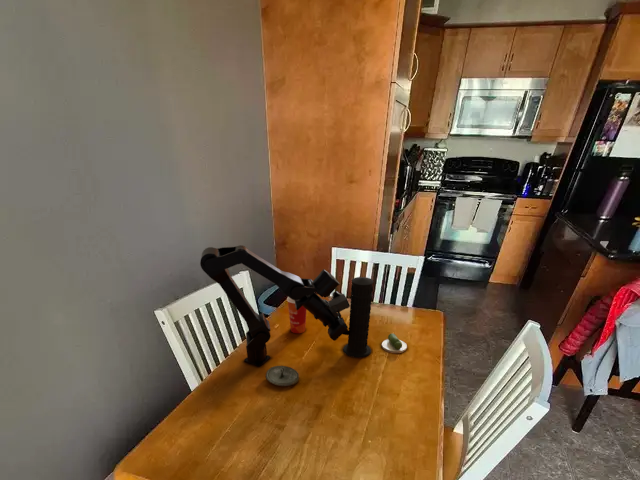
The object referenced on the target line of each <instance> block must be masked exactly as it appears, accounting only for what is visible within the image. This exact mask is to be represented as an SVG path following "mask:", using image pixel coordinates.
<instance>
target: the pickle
mask: <svg viewBox="0 0 640 480" xmlns="http://www.w3.org/2000/svg"><path fill="white" fill-rule="evenodd" d="M381 348H382V349H383V350H384V351H385V352H387V353H392V354H401V353H404V352H406V351H407V349H408V345H407V343H406V342H405V341H404V340H401V339H399V337H398V335H396V334H395V333H393V332H391V333H389V334H388V335H387V338H386V339H384V340H383V341H382V342H381Z"/></svg>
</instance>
